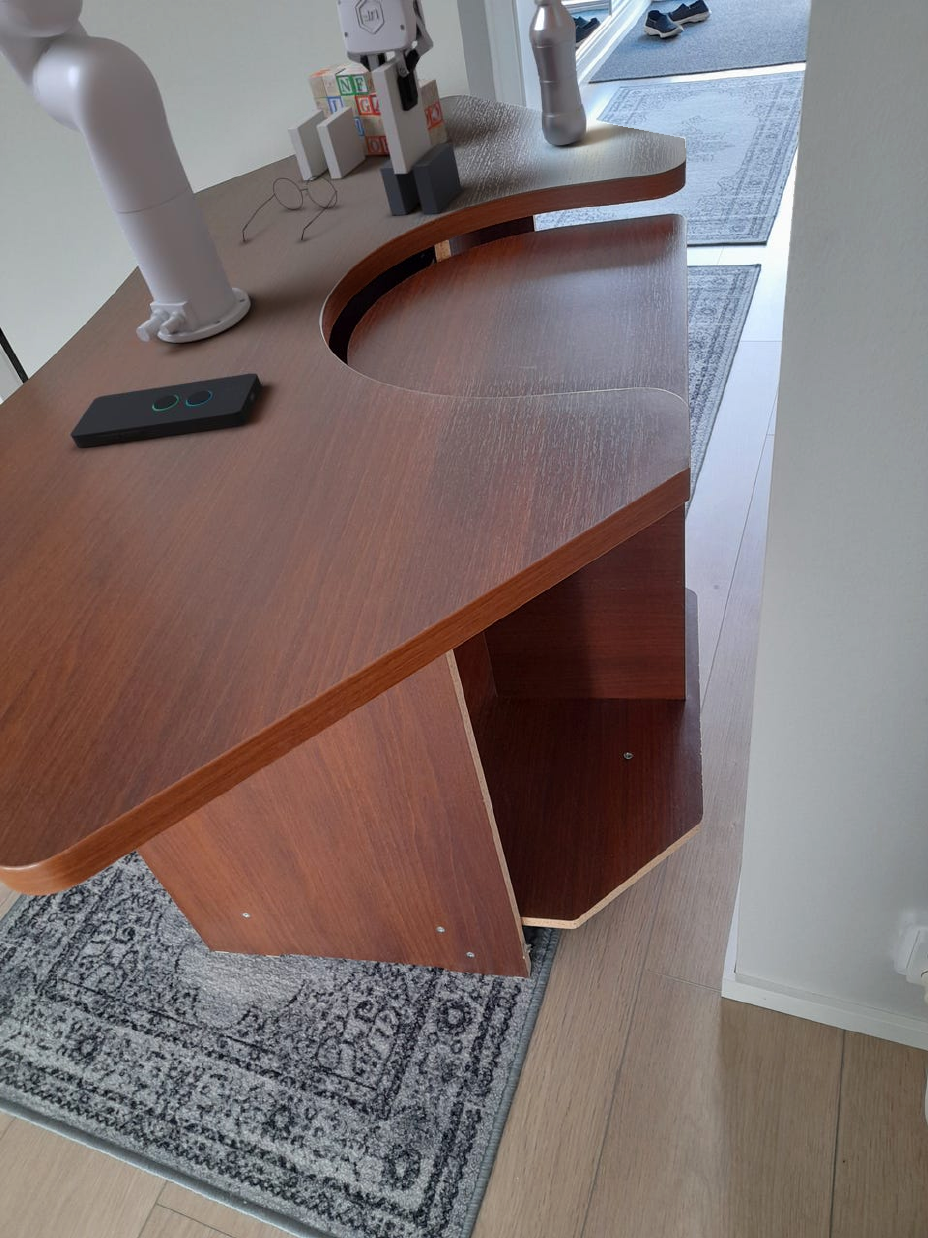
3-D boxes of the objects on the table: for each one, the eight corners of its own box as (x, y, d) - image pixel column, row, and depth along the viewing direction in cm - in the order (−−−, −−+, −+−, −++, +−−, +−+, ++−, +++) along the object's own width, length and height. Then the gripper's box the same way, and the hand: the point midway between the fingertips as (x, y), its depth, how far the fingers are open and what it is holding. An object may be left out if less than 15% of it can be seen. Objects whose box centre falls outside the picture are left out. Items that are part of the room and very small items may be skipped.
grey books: (438, 213, 125) (427, 164, 121) (391, 215, 128) (379, 167, 124) (461, 189, 130) (452, 141, 125) (416, 191, 133) (405, 145, 129)
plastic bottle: (576, 150, 131) (557, -11, 118) (536, 150, 135) (513, -6, 121) (596, 133, 135) (580, -26, 121) (556, 134, 138) (537, -20, 125)
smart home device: (238, 411, 93) (67, 436, 97) (244, 425, 94) (75, 449, 98) (258, 370, 99) (95, 395, 103) (263, 383, 100) (102, 408, 104)
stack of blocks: (449, 140, 147) (431, 55, 138) (426, 156, 144) (407, 70, 135) (352, 140, 158) (330, 62, 150) (329, 155, 155) (306, 75, 146)
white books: (342, 178, 145) (326, 124, 139) (303, 180, 148) (287, 128, 142) (365, 158, 149) (351, 106, 144) (327, 161, 153) (312, 110, 147)
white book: (407, 173, 122) (384, 70, 114) (394, 174, 123) (370, 71, 115) (432, 151, 127) (412, 50, 119) (420, 152, 128) (399, 52, 119)
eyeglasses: (307, 240, 128) (295, 204, 125) (238, 242, 133) (225, 208, 130) (345, 207, 135) (335, 172, 131) (278, 210, 140) (267, 176, 137)
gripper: (295, -43, 109) (338, 122, 121) (409, -63, 102) (442, 113, 115) (327, -58, 113) (365, 103, 126) (437, -78, 107) (466, 94, 119)
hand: (401, 106), depth 120 cm, fingers closed on white book, 2 cm apart
